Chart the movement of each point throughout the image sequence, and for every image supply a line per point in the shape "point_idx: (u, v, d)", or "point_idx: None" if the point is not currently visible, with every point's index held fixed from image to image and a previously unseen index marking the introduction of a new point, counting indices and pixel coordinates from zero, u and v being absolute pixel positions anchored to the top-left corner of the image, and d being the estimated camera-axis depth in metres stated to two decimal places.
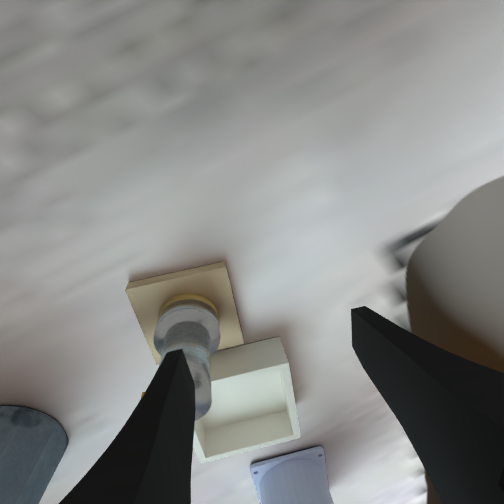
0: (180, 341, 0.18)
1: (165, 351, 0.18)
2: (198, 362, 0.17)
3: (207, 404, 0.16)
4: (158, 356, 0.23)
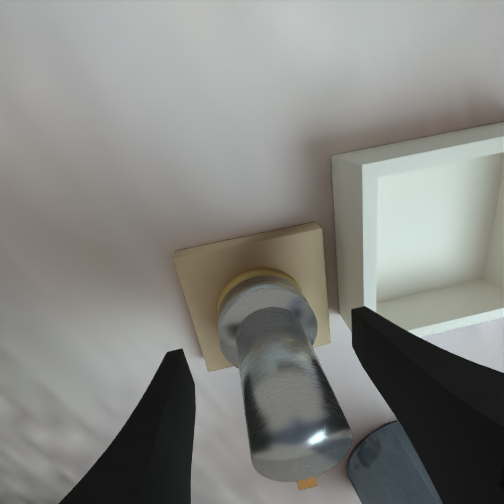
0: None
1: None
2: (252, 390, 0.09)
3: (316, 417, 0.08)
4: (317, 341, 0.17)
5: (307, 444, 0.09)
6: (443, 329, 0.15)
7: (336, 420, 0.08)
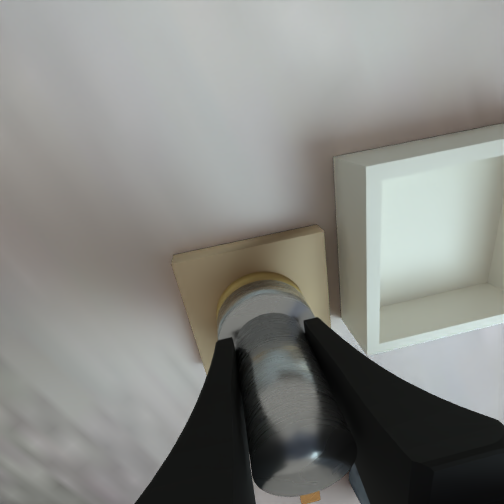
0: (240, 385, 0.11)
1: None
2: (253, 401, 0.09)
3: (320, 431, 0.08)
4: None
5: (310, 459, 0.08)
6: (448, 334, 0.15)
7: (341, 434, 0.08)
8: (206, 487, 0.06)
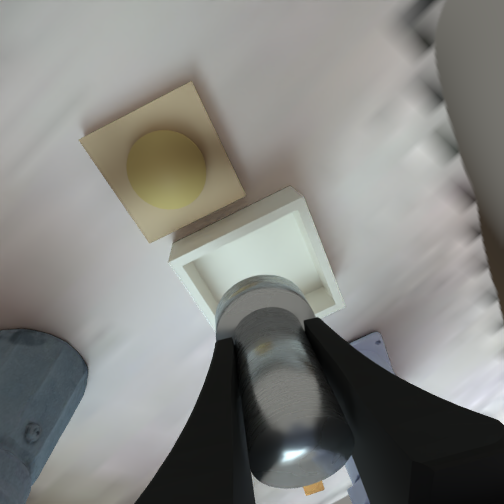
0: None
1: None
2: (249, 397, 0.09)
3: (312, 422, 0.08)
4: (148, 231, 0.19)
5: (307, 449, 0.08)
6: (203, 310, 0.20)
7: (335, 423, 0.08)
8: (206, 487, 0.06)
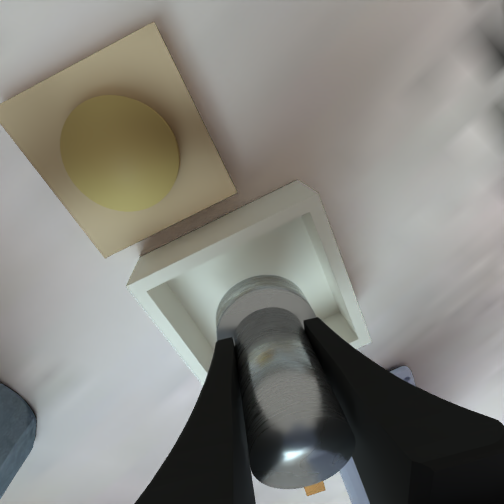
0: None
1: None
2: (249, 397, 0.09)
3: (313, 422, 0.08)
4: (101, 241, 0.14)
5: (308, 450, 0.08)
6: (178, 350, 0.15)
7: (335, 423, 0.08)
8: (206, 487, 0.06)
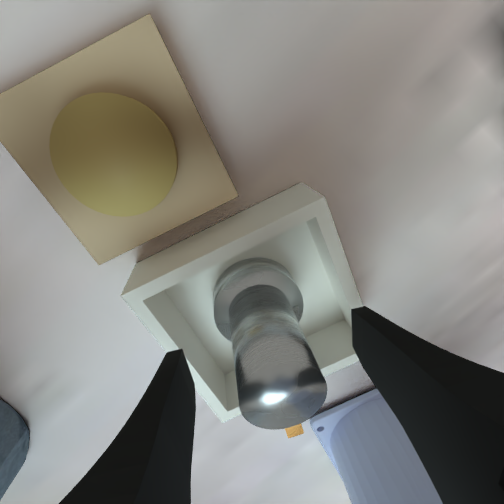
0: None
1: None
2: (239, 353, 0.11)
3: (290, 368, 0.10)
4: (95, 248, 0.13)
5: (287, 393, 0.10)
6: None
7: (309, 370, 0.10)
8: None
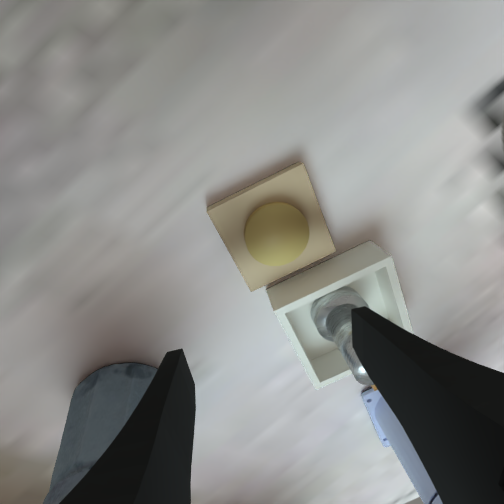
0: (335, 341, 0.22)
1: None
2: (348, 344, 0.20)
3: None
4: (251, 282, 0.22)
5: None
6: (296, 350, 0.23)
7: None
8: None
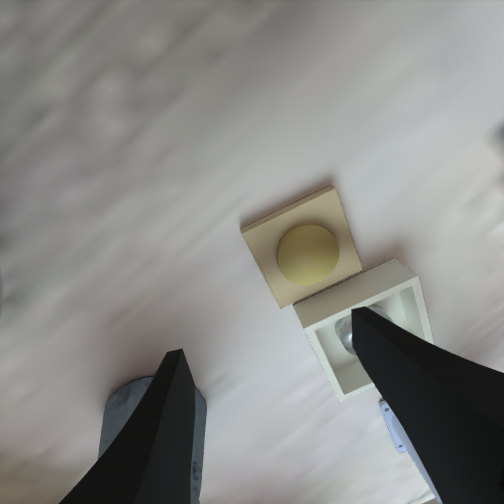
0: None
1: None
2: None
3: None
4: (280, 299, 0.23)
5: None
6: (323, 364, 0.24)
7: None
8: None
